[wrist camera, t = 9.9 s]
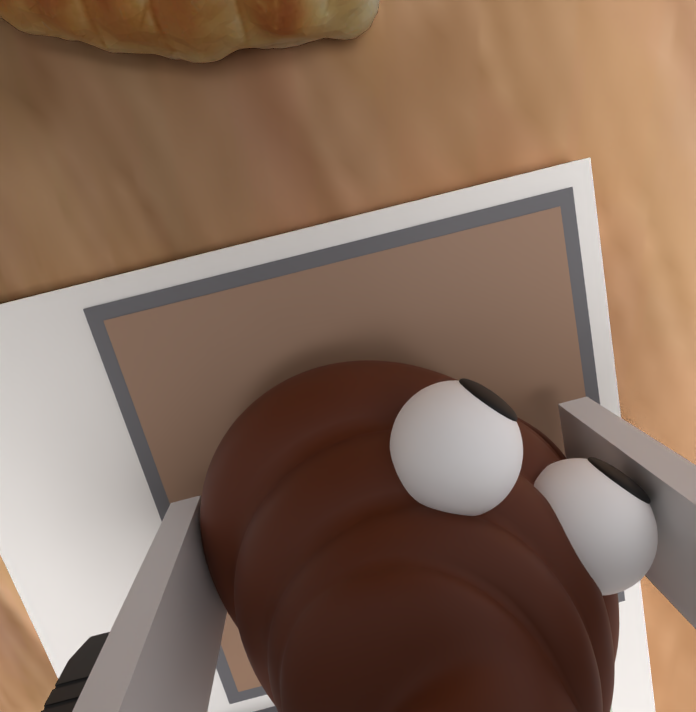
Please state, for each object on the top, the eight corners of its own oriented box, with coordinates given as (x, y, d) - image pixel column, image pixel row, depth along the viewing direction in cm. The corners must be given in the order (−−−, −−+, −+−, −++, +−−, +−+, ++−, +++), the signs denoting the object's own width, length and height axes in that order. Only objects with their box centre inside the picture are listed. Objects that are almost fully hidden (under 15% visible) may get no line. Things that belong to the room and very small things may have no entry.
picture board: (-77, 323, 15) (-193, 354, 11) (571, 161, 15) (650, 143, 11) (162, 852, 20) (132, 984, 16) (642, 725, 20) (712, 829, 16)
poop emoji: (151, 546, 14) (-116, 1112, 5) (322, 268, 13) (359, 388, 4) (456, 693, 16) (646, 1293, 7) (636, 465, 15) (1156, 857, 6)
